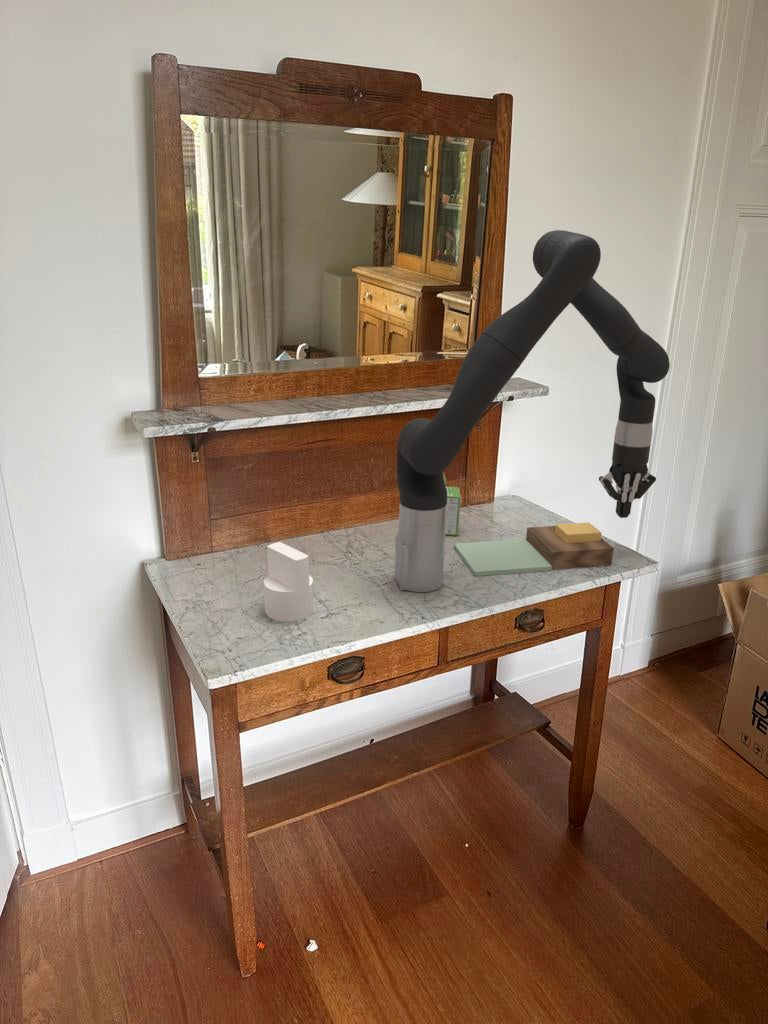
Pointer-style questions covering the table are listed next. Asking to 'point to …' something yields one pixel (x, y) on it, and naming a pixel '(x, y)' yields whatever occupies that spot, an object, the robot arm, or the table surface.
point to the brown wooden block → (568, 549)
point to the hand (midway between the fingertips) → (622, 516)
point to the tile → (578, 532)
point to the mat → (501, 557)
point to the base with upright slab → (287, 584)
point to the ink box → (452, 510)
